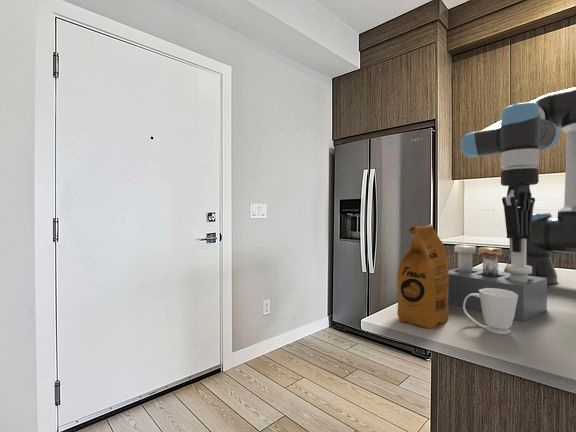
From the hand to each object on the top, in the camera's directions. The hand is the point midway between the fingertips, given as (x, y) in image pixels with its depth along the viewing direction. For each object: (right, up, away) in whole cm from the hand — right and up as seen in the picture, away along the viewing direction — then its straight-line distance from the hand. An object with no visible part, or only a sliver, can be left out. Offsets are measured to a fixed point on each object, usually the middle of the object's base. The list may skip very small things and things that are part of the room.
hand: (518, 265), depth 79 cm
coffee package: (-25, -12, -4) cm, 28 cm away
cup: (-14, -12, -10) cm, 21 cm away
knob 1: (-7, -5, +11) cm, 14 cm away
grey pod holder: (-3, -12, +6) cm, 13 cm away
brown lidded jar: (-3, -5, +6) cm, 8 cm away
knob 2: (0, -9, 0) cm, 9 cm away
